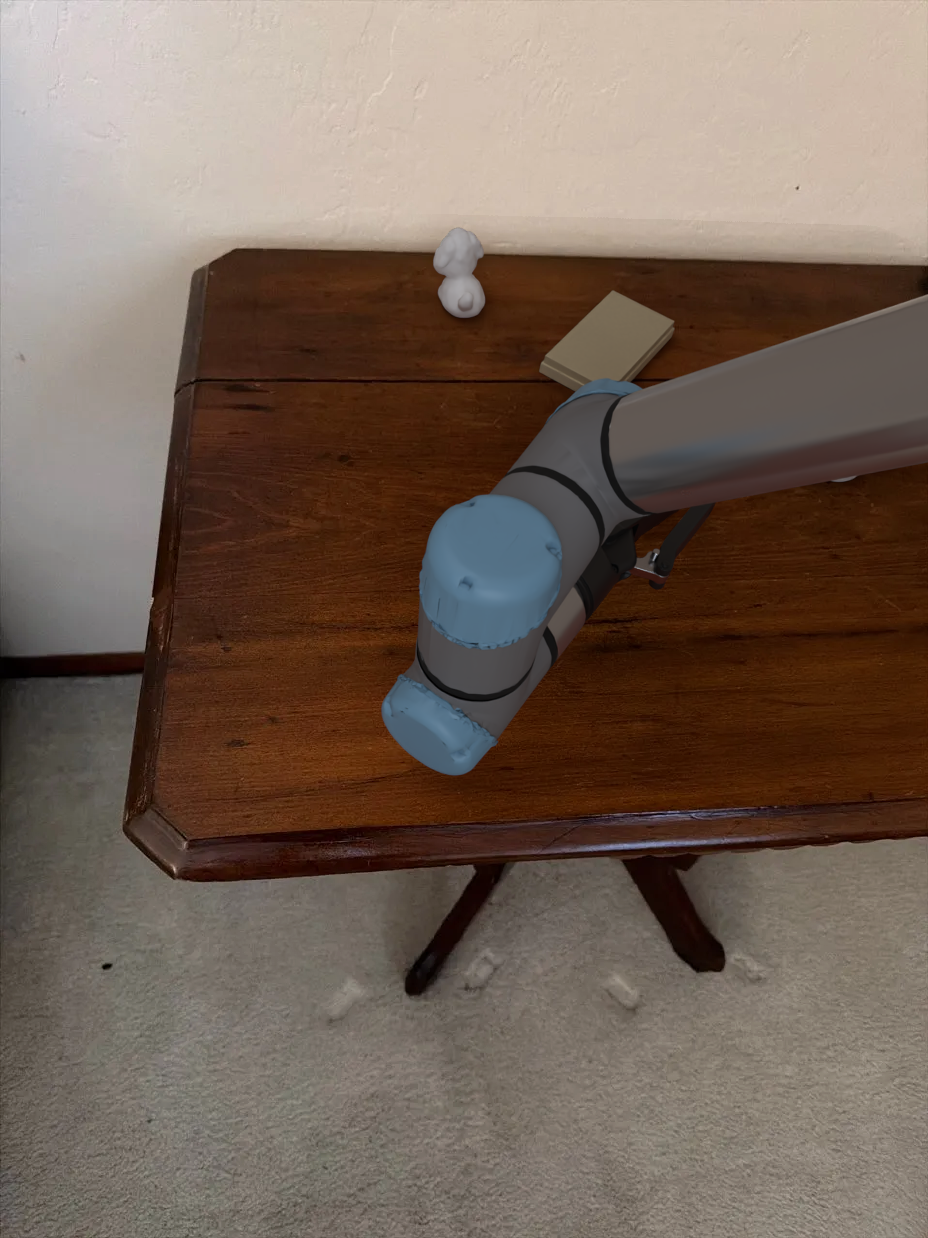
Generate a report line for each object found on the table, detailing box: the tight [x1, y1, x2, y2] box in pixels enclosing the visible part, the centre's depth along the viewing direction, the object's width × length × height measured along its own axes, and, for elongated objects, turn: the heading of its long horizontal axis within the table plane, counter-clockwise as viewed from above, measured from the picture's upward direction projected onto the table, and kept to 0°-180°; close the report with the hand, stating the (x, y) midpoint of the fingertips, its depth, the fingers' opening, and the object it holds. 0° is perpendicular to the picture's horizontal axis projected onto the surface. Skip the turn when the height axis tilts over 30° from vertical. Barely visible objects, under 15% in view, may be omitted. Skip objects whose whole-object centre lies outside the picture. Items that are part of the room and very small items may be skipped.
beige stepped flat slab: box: [538, 290, 675, 393], centre depth 91 cm, size 8×14×2 cm, turn 145°
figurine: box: [432, 226, 486, 319], centre depth 90 cm, size 5×8×8 cm
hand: (687, 415), depth 75 cm, fingers closed on pill bottle, 5 cm apart
